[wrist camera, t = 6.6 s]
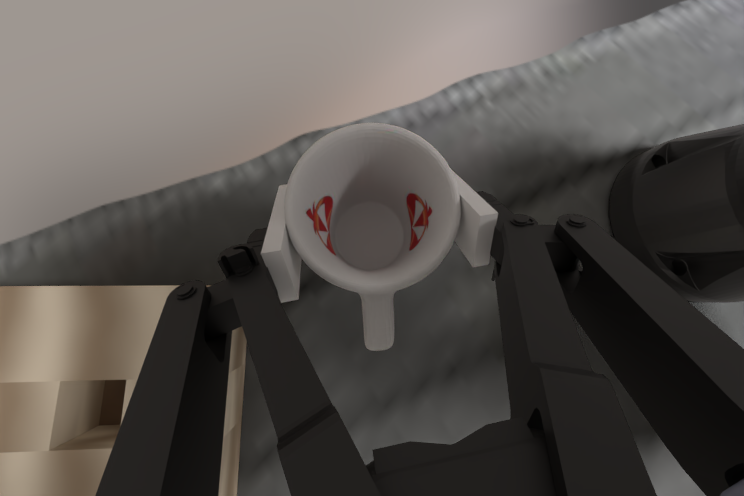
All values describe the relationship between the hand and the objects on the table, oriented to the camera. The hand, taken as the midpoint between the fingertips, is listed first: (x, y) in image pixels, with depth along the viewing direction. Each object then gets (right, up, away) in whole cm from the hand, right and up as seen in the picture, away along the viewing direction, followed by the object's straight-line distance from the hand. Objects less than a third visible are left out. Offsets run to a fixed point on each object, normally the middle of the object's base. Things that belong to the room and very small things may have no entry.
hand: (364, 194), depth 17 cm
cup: (0, -4, +3) cm, 5 cm away
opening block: (-18, -14, +5) cm, 23 cm away
